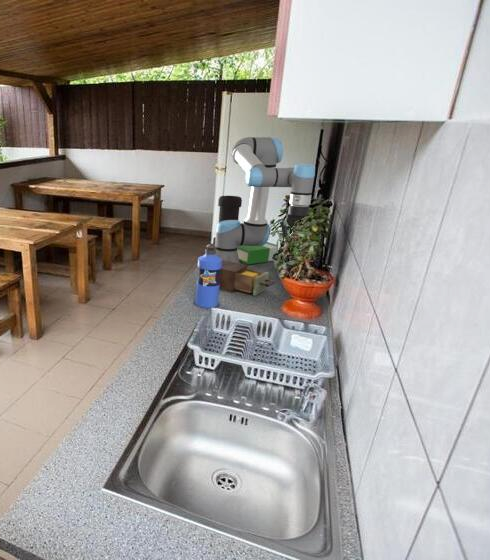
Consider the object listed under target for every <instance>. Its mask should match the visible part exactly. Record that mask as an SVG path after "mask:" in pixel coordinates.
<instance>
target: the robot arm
mask: <svg viewBox="0 0 490 560" xmlns="http://www.w3.org/2000/svg"><path fill="white" fill-rule="evenodd" d="M283 152H284V148H283V144H282V141H281V140H280V139H279V138H278V137H271V136H267V137H266V136H261V137H259V136H258V137H257V136H253V137H252V136H247V137H243V138H241V139H238V141H236V142H234V144H233V145H232V147H231V150H230V157H231V159H232V161H233V162H234V163H235V164H237V165H239V167H240V168H241V169H242V170H243V171H244V172H245V185H246V186H247V187H251V189H250V195H249V196H250V197H249V204H248V211H247V216H246V217H245V218H244V219H243V222H241V221H240V220H239V219H238V220H226V221H221V222H219V221H218V222H217V224H216V229H215V237H216V239H215V246H216V248H215V249H216V254H215V255H216V256H218V257H219V258H221V259H222V260H224V261H229V262H234V263H239V264H240V260H241V259H239V257H238V253H237V248H238V246H262V245H265V244H266V243H267V242H268V241H269V239H270V237H271V233H270V234H269V231H270V232H271V225H270V224H269V223H268V220H267V219H266V213H267V207H268V200H269V194H270V188H291V189H290V194H289V195H290V196H289V206H288V210H287V217H286V218H285V219H284V220H282V221H279V225H280V228H281V234H282V242H283V241H284V237H286V236H287V235H288V236H289V235H290V234H291V233H292V230H291V228H292V227H293V225H294V222H295V221H297V220H301V219H302V218H304V217H305V216H307V215H308V213H309V214H310V206H311V201H312V193H313V187H314V182H315V176H316V165H314V164H307V163H297V164H295V165H294V167H277V164H279V163H281V162H282V159H283V156H284V153H283ZM308 216H309V215H308ZM298 222H300V221H298ZM298 222H297V223H298ZM288 227H289V230H288ZM288 231H289V232H288Z"/></svg>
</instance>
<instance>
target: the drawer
mask: <svg viewBox="0 0 490 560" xmlns="http://www.w3.org/2000/svg"><path fill="white" fill-rule="evenodd" d="M246 271H248V272H253V273H257V274H258V276H257V277H256V278H255V282H254V288H253V289H252V284H253V277H252V276H248V275H244V274H241V273H243V272H246ZM275 283H276V280H275V279H272V280H269V272H268V271H265V272H263V271H260V270H255V269H252V268H248V267H247V268H244V269H242V270H240V271H238V272H236V273H235V281H234V289H236V291H240V292H245V293H249V294H252V296H254V297H255V296H258V295H259V294H261V293H263V292H265V290H267V288H269V287H270V286H272V285H274V284H275Z"/></svg>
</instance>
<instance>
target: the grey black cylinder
mask: <svg viewBox="0 0 490 560" xmlns="http://www.w3.org/2000/svg"><path fill="white" fill-rule="evenodd" d="M242 199H243V198H242V197H241V196H238V195H220V196H219V198H218V204H217V206H218V207H219V211H218V223H219V222H221V221H226V220H238V221H239V218H240V217H239V215H240V208H241V207H242V203H243V200H242ZM215 239H216V236H215V237H213V239H212V244H214V245H215Z"/></svg>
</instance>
